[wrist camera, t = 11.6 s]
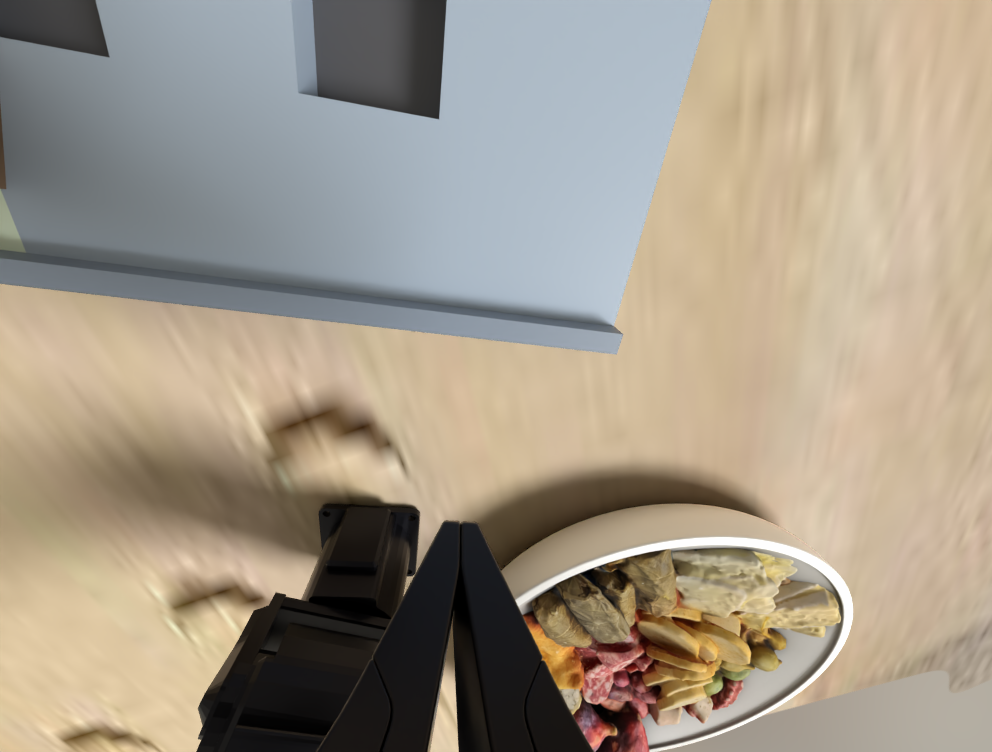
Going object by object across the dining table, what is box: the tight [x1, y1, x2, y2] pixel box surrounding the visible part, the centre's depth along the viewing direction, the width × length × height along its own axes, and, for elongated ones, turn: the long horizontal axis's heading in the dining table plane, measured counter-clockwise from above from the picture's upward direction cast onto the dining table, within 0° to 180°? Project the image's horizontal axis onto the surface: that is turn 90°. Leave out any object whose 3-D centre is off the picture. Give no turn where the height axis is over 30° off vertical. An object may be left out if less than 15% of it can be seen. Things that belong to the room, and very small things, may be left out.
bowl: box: [501, 504, 853, 752], centre depth 28 cm, size 30×30×8 cm
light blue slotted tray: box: [0, 0, 711, 354], centre depth 13 cm, size 14×32×4 cm, turn 82°
